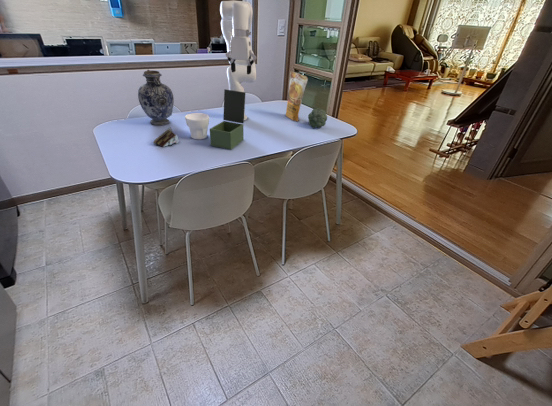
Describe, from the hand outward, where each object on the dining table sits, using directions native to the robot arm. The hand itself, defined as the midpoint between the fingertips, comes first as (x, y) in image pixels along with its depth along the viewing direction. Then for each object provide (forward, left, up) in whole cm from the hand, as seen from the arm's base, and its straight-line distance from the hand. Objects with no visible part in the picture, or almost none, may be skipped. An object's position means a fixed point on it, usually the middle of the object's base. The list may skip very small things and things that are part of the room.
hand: (241, 72), depth 147 cm
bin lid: (+2, -9, -15) cm, 18 cm away
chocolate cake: (-19, -37, -32) cm, 53 cm away
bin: (+3, -17, -32) cm, 36 cm away
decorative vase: (-48, -17, -32) cm, 60 cm away
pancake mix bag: (+11, +44, -32) cm, 56 cm away
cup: (-14, -20, -32) cm, 40 cm away
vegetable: (+30, +38, -32) cm, 58 cm away
